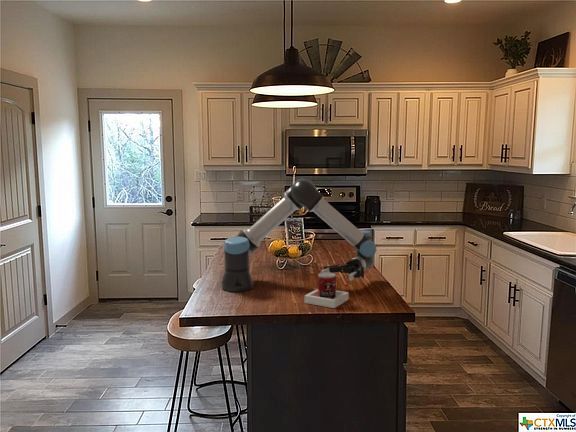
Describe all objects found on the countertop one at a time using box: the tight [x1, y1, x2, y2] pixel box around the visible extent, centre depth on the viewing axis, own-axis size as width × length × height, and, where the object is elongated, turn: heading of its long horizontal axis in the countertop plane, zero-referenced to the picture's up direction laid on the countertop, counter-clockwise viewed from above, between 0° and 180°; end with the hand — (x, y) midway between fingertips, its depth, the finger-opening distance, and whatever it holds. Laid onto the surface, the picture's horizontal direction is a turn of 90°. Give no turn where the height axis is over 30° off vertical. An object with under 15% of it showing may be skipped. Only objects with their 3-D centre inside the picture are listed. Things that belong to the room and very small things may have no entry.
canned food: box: [317, 272, 337, 299], centre depth 199 cm, size 8×8×11 cm
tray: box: [304, 288, 350, 309], centre depth 200 cm, size 14×14×3 cm
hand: (335, 275), depth 206 cm, fingers open, 13 cm apart
